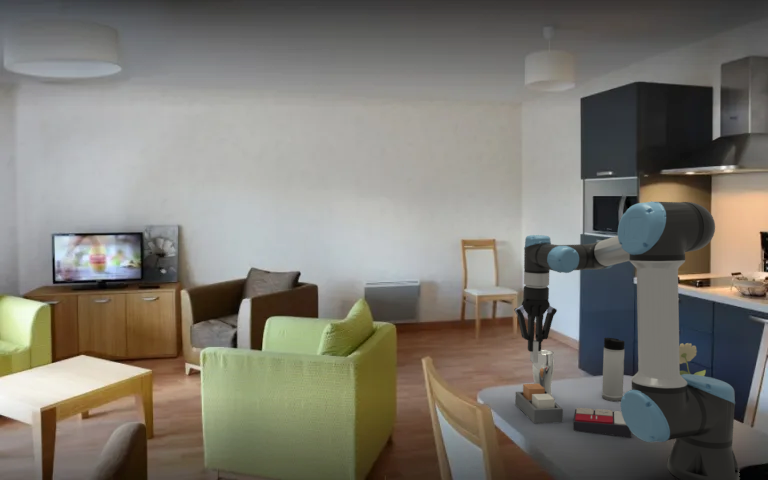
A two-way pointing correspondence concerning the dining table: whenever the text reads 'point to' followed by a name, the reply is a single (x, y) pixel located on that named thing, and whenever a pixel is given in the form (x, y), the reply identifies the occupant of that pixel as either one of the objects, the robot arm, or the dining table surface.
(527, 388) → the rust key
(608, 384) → the travel mug
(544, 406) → the cream key
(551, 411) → the key housing
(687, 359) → the flower in vase
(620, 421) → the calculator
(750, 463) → the dining table surface
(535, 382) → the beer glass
